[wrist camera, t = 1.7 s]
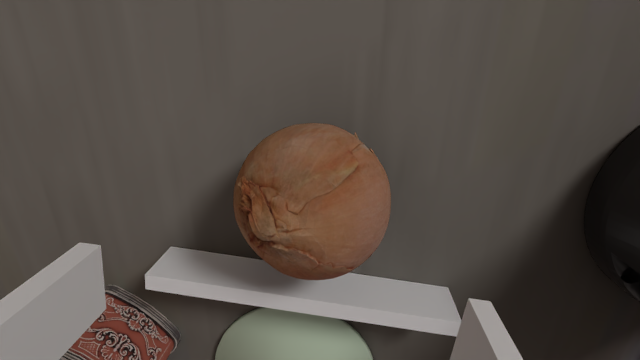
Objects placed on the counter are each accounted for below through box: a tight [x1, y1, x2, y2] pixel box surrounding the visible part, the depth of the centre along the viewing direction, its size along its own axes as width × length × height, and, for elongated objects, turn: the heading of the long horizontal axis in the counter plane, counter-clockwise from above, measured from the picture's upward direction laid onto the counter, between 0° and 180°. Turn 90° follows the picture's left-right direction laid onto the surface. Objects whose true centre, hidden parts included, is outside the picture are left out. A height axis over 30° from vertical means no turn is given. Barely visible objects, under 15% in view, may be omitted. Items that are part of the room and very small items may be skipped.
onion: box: [233, 123, 391, 280], centre depth 23 cm, size 10×9×10 cm
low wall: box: [145, 246, 461, 337], centre depth 28 cm, size 22×1×4 cm, turn 83°
